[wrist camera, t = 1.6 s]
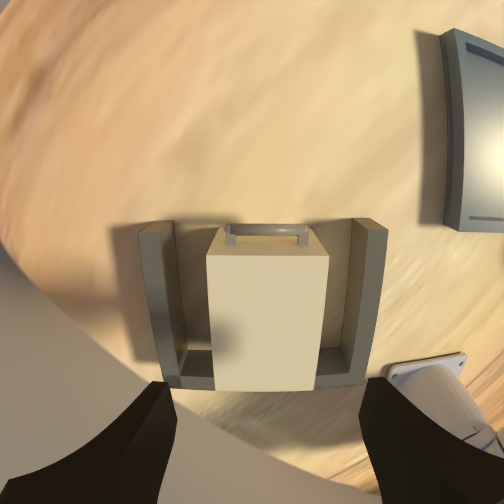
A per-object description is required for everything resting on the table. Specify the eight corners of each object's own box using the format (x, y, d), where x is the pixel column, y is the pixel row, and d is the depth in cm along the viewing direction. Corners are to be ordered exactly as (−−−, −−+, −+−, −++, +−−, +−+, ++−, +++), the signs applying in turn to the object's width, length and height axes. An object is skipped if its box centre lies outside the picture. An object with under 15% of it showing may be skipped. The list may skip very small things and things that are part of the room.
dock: (352, 359, 22) (362, 384, 19) (174, 362, 22) (165, 387, 19) (370, 218, 19) (388, 229, 16) (155, 221, 19) (138, 233, 16)
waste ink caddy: (301, 338, 22) (313, 390, 16) (223, 338, 22) (215, 390, 16) (310, 211, 19) (330, 234, 14) (219, 210, 19) (205, 233, 14)
